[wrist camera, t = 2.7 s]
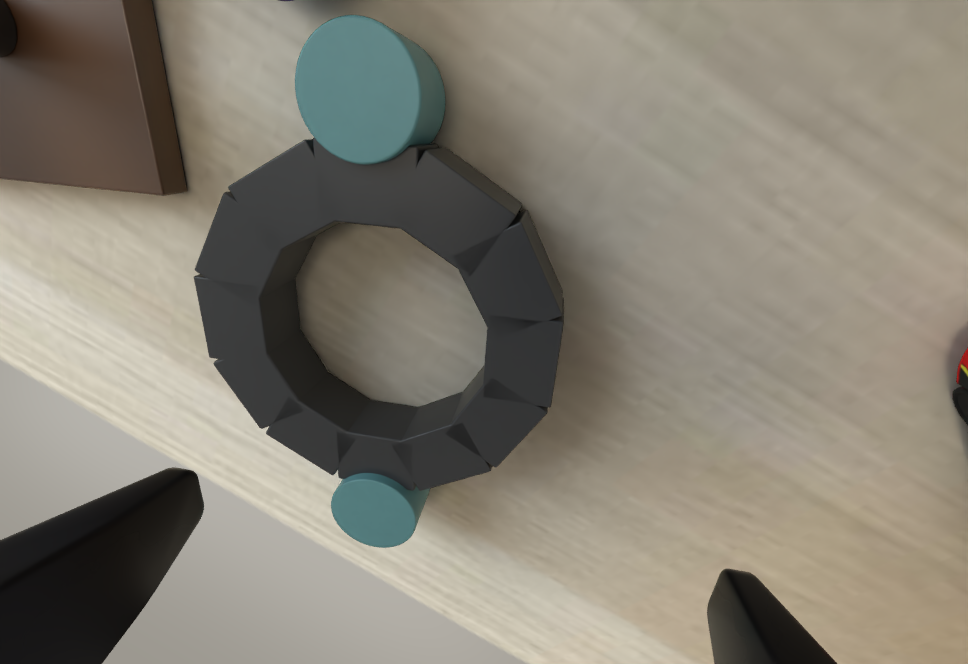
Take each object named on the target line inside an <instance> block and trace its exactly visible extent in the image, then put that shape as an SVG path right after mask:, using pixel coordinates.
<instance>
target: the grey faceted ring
mask: <svg viewBox="0 0 968 664" xmlns="http://www.w3.org/2000/svg"><path fill="white" fill-rule="evenodd" d="M295 90H296V97H297V102H298V106H299V110H300V112H301V115H302V118H303V120H304V122H305V124H306V126H307V127H308V129H309V131H310V132H311V134H312V135H313V136H314V137H315V138H313V139H311V140H303V141H302V142H300V143H298V144H297V145H295V146H293V147H292V148H290V149H289V150H287V151H285V152H284V153H282V154H280V155H279V156H277V157H276V158H274V159H272V160H271V161H269V162H267V163H266V164H264V165H262V166H261V167H259V168H258V169H256V170H254V171H253V172H251V173H249V174H248V175H246V176H245V177H243V178H241V179H240V180H238V181H236V182H235V183H233V184H231V185H230V186H229V187H228V188H229V190H230V192H225V193H224V194H223V196H222V199H221V201H220V204H219V207H218V209H217V212H216V215H215V217H214V220H213V223H212V225H211V228H210V230H209V233H208V236H207V238H206V241H205V244H204V246H203V249H202V252H201V254H200V257H199V260H198V262H197V265H196V268H195V270H196V271H197V272H198V273H200V274H199V275H197V276H195V277H194V280H195V285H196V290H197V296H198V301H199V306H200V311H201V316H202V321H203V326H204V331H205V336H206V342H207V347H208V352H209V357H210V358H216V359H218V360H216V361H215V362H214V366H215V367H216V368H217V370H218V371H219V372H220V374H221V375H222V377H223V378H224V379H225V381H226V382H227V383H228V385H229V386H230V388H231V389H232V390H233V392H234V393H235V394H236V396H237V397H238V399H239V400H240V401H241V403H242V404H243V405H244V407H245V408H246V409H247V411H248V412H249V414H250V415H251V416H252V418H253V419H254V420H255V422H256V423H257V425H258V426H259V427H260V428H261V429H262V428H265V427H268V426H269V428H268V430H267V432H266V434H267V435H269V436H270V437H272V438H273V439H275V440H277V441H278V442H280V443H281V444H283V445H285V446H286V447H288V448H289V449H291V450H293V451H294V452H296V453H297V454H299V455H301V456H302V457H304V458H305V459H307V460H309V461H310V462H312V463H313V464H315V465H317V466H318V467H320V468H321V469H323V470H325V471H326V472H328V473H329V474H331V475H334V474H335V473H336V472H337V470H338V475H339V478H341V479H343V480H342V481H341V483H340V484H339V486H338V488H337V489H336V491H335V492H334V494H333V497H332V501H331V509H332V513H333V516H334V518H335V520H336V522H337V524H338V525H339V526H340V527H341V529H342V530H343V531H344V532H345V533H347V534H348V535H349V536H350V537H352V538H353V539H355V540H357V541H359V542H361V543H363V544H366V545H370V546H374V547H383V548H386V547H394V546H397V545H400V544H402V543H404V542H405V541H407V540H408V539H409V538H410V537H411V536H412V534H413V533H414V531H415V528H416V525H417V523H418V520H419V517H420V515H421V512H422V509H423V507H424V504H425V501H426V499H427V496H428V493H429V491H430V488H433V487H436V486H440V485H443V484H447V483H451V482H454V481H458V480H461V479H465V478H468V477H472V476H475V475H479V474H482V473H486V472H490V471H491V469H492V466H494V467H497V466H498V465H499V464H500V463H501V462H502V461H503V460H504V459H505V458H506V457H507V456H508V455H509V453H510V452H511V451H512V450H513V449H514V448H515V447H516V446H517V445H518V444H519V443H520V442H521V441H522V440H523V439H524V437H525V436H526V435H527V434H528V433H529V432H530V431H531V430H532V429H533V428H534V427H535V426H536V425H537V424H538V423H539V421H540V420H541V419H542V418H543V417H544V416H545V415H546V414H547V411H548V407H551V402H552V396H553V389H554V383H555V376H556V370H557V363H558V357H559V350H560V344H561V337H562V331H563V324H564V299H563V298H562V289H561V286H560V284H559V282H558V280H557V277H556V275H555V273H554V270H553V268H552V266H551V263H550V261H549V259H548V256H547V254H546V252H545V250H544V247H543V245H542V243H541V240H540V238H539V236H538V233H537V231H536V229H535V226H534V224H533V222H532V220H531V217H530V215H529V213H528V211H527V210H525V211H523V212H520V213H518V212H519V210H520V208H521V206H522V203H521V202H519V201H518V200H517V199H515V198H514V197H512V196H511V195H510V194H508V193H507V192H506V191H504V190H503V189H502V188H500V187H499V186H497V185H496V184H495V183H493V182H492V181H491V180H489V179H488V178H487V177H485V176H484V175H483V174H481V173H480V172H478V171H477V170H476V169H474V168H473V167H472V166H470V165H469V164H468V163H466V162H465V161H463V160H462V159H461V158H459V157H458V156H457V155H455V154H454V153H453V152H451V151H450V150H449V149H447V148H445V147H444V148H438V145H437V144H430V143H431V142H432V141H433V140H434V138H435V137H436V135H437V133H438V131H439V129H440V127H441V124H442V121H443V117H444V112H445V92H444V86H443V82H442V78H441V76H440V73H439V71H438V69H437V67H436V65H435V63H434V62H433V60H432V59H431V58H430V56H429V55H428V54H427V53H426V52H425V51H424V50H423V49H422V48H421V47H420V46H419V45H417V44H415V43H414V42H412V41H411V40H409V39H407V38H406V37H404V36H402V35H401V34H399V33H397V32H396V31H394V30H392V29H391V28H389V27H387V26H386V25H384V24H382V23H380V22H378V21H376V20H374V19H372V18H368V17H365V16H358V15H345V16H340V17H337V18H334V19H331V20H329V21H327V22H326V23H324V24H322V25H321V26H320V27H319V28H317V29H316V30H315V31H314V32H313V33H312V35H311V36H310V37H309V38H308V40H307V41H306V43H305V44H304V46H303V48H302V51H301V53H300V56H299V59H298V62H297V67H296V75H295ZM340 222H345V223H354V224H364V225H373V226H382V227H392V228H401V229H402V230H404V231H405V232H407V233H408V234H409V235H411V236H412V237H414V238H415V239H417V240H418V241H419V242H421V243H422V244H424V245H425V246H427V247H428V248H429V249H431V250H432V251H434V252H435V253H436V254H438V255H439V256H441V257H442V258H444V259H445V260H446V261H448V262H449V263H451V264H452V265H454V266H455V267H456V268H458V269H459V271H460V273H461V275H462V277H463V279H464V281H465V283H466V285H467V287H468V289H469V291H470V293H471V295H472V297H473V299H474V301H475V303H476V305H477V307H478V309H479V311H480V313H481V315H482V317H483V319H484V321H485V323H486V325H487V327H488V330H487V342H486V355H485V365H484V366H483V368H482V369H481V370H480V371H479V373H478V374H477V375H476V376H475V378H474V379H473V380H472V381H471V383H470V384H469V385H468V387H467V388H466V389H465V390H464V392H461V393H458V394H456V395H453V396H450V397H447V398H444V399H441V400H438V401H435V402H433V403H430V404H427V405H424V406H421V407H413V406H406V405H400V404H393V403H387V402H380V401H373V400H370V399H368V398H367V397H365V396H363V395H362V394H360V393H359V392H357V391H356V390H354V389H353V388H351V387H350V386H348V385H347V384H345V383H344V382H342V381H340V380H339V379H337V378H336V377H334V376H333V375H331V374H330V373H328V372H327V370H326V369H325V367H324V366H323V364H322V362H321V361H320V359H319V358H318V356H317V355H316V353H315V352H314V350H313V349H312V347H311V345H310V344H309V342H308V341H307V339H306V338H305V336H304V335H303V333H302V331H301V330H300V322H299V312H298V302H297V292H296V282H295V278H296V276H297V274H298V272H299V270H300V268H301V266H302V264H303V262H304V260H305V258H306V256H307V254H308V252H309V250H310V248H311V246H312V244H313V242H314V240H315V238H316V236H317V235H318V234H319V233H321V232H323V231H325V230H327V229H329V228H331V227H333V226H335V225H337V224H339V223H340Z"/></svg>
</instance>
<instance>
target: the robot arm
mask: <svg viewBox="0 0 968 664" xmlns="http://www.w3.org/2000/svg"><path fill="white" fill-rule="evenodd" d="M203 510H204V502H203V498H202V493H201V489H200V485H199V480H198V476H197V474H196V473H195V472H194V471H191V470H186V469H181V468H168V469H165V470H163V471H161V472H159V473H156V474H154V475H151V476H149V477H147V478H144V479H142V480H140V481H138V482H135V483H133V484H131V485H128V486H126V487H123V488H121V489H119V490H116V491H114V492H112V493H109V494H107V495H105V496H102V497H100V498H98V499H95V500H93V501H91V502H88V503H86V504H84V505H81V506H79V507H77V508H74V509H72V510H70V511H68V512H65V513H63V514H60V515H58V516H56V517H54V518H51V519H49V520H46V521H44V522H42V523H40V524H37V525H35V526H33V527H30V528H28V529H26V530H23V531H21V532H18V533H16V534H14V535H11V536H9V537H7V538H4V539H2V540H0V664H102V663H103V661H104V660H105V659H106V657H107V656H108V655H109V653H110V652H111V651H112V649H113V648H114V647H115V645H116V644H117V643H118V642H119V640H120V639H121V638H122V636H123V635H124V634H125V632H126V631H127V629H128V628H129V627H130V626H131V624H132V623H133V622H134V620H135V619H136V618H137V616H138V615H139V613H140V612H141V611H142V609H143V608H144V607H145V605H146V604H147V602H148V601H149V599H150V597H151V596H152V595H153V593H154V592H155V590H156V589H157V587H158V586H159V584H160V582H161V581H162V579H163V578H164V576H165V575H166V573H167V571H168V570H169V568H170V566H171V565H172V563H173V562H174V560H175V559H176V557H177V556H178V554H179V552H180V551H181V549H182V547H183V546H184V544H185V543H186V541H187V540H188V538H189V536H190V535H191V533H192V532H193V530H194V529H195V527H196V525H197V524H198V522H199V521H200V519H201V517H202V514H203ZM707 617H708V624H709V631H710V637H711V644H712V650H713V657H714V663H715V664H837V663H836V662H835V661H834V660H833V659H832V657H831V656H830V655H829V654H828V653H827V652H826V651H825V650H824V649H823V648H822V647H821V646H820V645H819V644H818V642H817V641H816V640H815V639H814V638H813V637H812V636H811V635H810V634H809V633H808V632H807V631H806V630H805V629H804V627H803V626H802V625H801V624H800V623H799V622H798V621H797V620H796V619H795V618H794V617H793V616H792V615H791V614H790V612H789V611H788V610H787V609H786V608H785V607H784V606H783V605H782V604H781V603H780V602H779V601H778V600H777V599H776V597H775V596H774V595H773V594H772V593H771V592H770V591H769V590H768V589H767V588H766V587H765V586H764V585H763V584H762V582H761V581H760V580H759V579H758V578H757V577H756V576H754V575H753V574H751V573H749V572H744V571H738V570H733V569H724V570H723V571H722V572H721V573H720V575H719V578H718V580H717V583H716V585H715V588H714V590H713V592H712V595H711V597H710V600H709V603H708V609H707Z"/></svg>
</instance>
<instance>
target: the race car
mask: <svg viewBox="0 0 968 664" xmlns="http://www.w3.org/2000/svg"><path fill="white" fill-rule="evenodd" d="M956 382H957V384H959V385H961V386H962V387H959V388H957V389H955V390H954V391H953V401H954V404H955V407H956V409H957V411H958V412H959V414H960V416H961V417H962V419H963V420H964V421H965V422H966V424H967V425H968V348H967V350H966V351H965V353H964V355H963V356H962V359H961V361H960V364H959V366H958V372H957V380H956Z"/></svg>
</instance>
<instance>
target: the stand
mask: <svg viewBox="0 0 968 664" xmlns="http://www.w3.org/2000/svg"><path fill="white" fill-rule="evenodd" d="M0 179H8V180H17V181H27V182H37V183H46V184H56V185H66V186H75V187H85V188H94V189H104V190H114V191H123V192H133V193H143V194H152V195H162V196H164V195H170V194H177V193H183V192H186V191H187V187H186V181H185V176H184V171H183V165H182V160H181V155H180V149H179V144H178V139H177V133H176V128H175V123H174V117H173V112H172V107H171V101H170V96H169V90H168V85H167V80H166V74H165V69H164V64H163V58H162V53H161V48H160V42H159V37H158V32H157V26H156V21H155V16H154V10H153V5H152V0H0Z"/></svg>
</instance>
